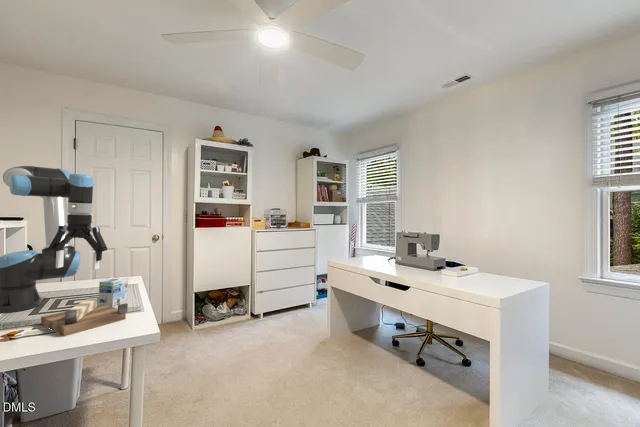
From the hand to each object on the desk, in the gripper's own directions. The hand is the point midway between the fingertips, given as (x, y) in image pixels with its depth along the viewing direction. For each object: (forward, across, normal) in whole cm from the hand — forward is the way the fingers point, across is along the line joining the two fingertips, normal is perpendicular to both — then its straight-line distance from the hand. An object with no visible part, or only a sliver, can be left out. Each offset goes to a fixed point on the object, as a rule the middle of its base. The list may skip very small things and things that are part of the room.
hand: (77, 268), depth 120 cm
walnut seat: (+19, +6, -4) cm, 21 cm away
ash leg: (+16, +5, -5) cm, 18 cm away
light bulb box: (+20, +2, +20) cm, 29 cm away
